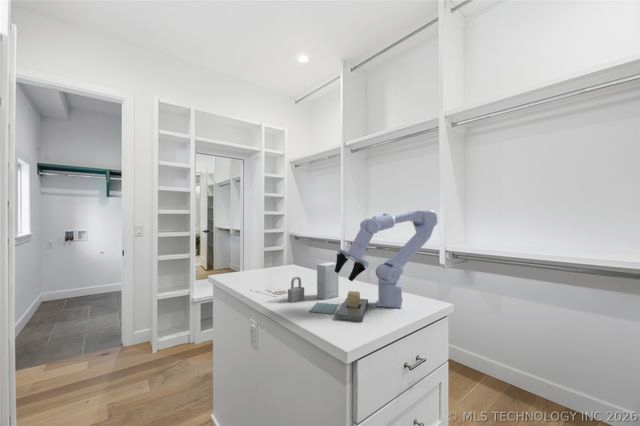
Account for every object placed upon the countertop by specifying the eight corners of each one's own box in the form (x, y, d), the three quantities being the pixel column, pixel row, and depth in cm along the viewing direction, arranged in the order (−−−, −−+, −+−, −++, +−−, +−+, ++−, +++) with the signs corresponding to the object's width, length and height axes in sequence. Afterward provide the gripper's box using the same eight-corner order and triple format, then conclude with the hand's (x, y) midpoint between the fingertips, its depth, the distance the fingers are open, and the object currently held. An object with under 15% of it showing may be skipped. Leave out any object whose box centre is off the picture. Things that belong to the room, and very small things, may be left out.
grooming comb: (291, 292, 135) (291, 291, 135) (274, 297, 127) (274, 296, 127) (265, 286, 146) (265, 285, 146) (249, 291, 138) (249, 289, 138)
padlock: (299, 297, 126) (299, 274, 126) (305, 299, 124) (305, 275, 124) (286, 300, 121) (286, 277, 121) (293, 302, 118) (293, 278, 118)
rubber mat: (338, 305, 115) (338, 304, 115) (332, 314, 104) (332, 313, 104) (317, 303, 117) (317, 302, 117) (308, 312, 107) (308, 311, 107)
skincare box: (330, 293, 132) (330, 261, 132) (339, 296, 127) (339, 263, 127) (316, 297, 126) (316, 263, 127) (325, 300, 122) (325, 265, 122)
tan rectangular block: (359, 310, 109) (359, 291, 109) (358, 313, 105) (358, 294, 105) (349, 309, 110) (349, 291, 110) (347, 312, 106) (347, 293, 106)
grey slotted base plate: (368, 304, 116) (368, 299, 116) (362, 321, 97) (362, 316, 97) (346, 302, 118) (346, 297, 119) (336, 319, 99) (336, 313, 99)
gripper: (341, 236, 116) (324, 265, 114) (368, 248, 105) (351, 281, 103) (349, 242, 120) (334, 271, 118) (377, 254, 110) (360, 286, 108)
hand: (342, 276), depth 111 cm, fingers open, 7 cm apart
